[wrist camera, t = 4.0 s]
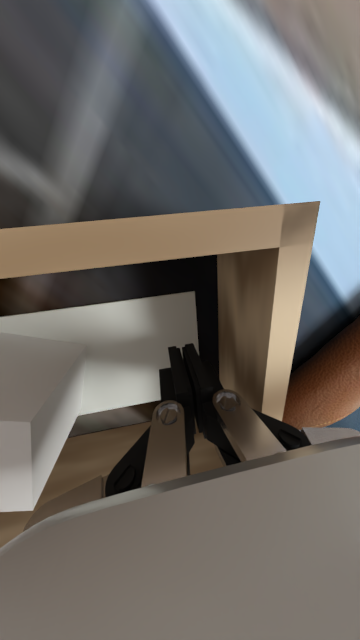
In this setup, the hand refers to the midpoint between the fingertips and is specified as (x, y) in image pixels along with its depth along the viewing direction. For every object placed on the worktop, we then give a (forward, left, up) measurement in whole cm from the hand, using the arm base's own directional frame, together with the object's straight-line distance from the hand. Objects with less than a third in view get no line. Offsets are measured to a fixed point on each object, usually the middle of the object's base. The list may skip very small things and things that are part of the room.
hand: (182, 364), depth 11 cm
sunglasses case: (-15, +7, -3) cm, 16 cm away
